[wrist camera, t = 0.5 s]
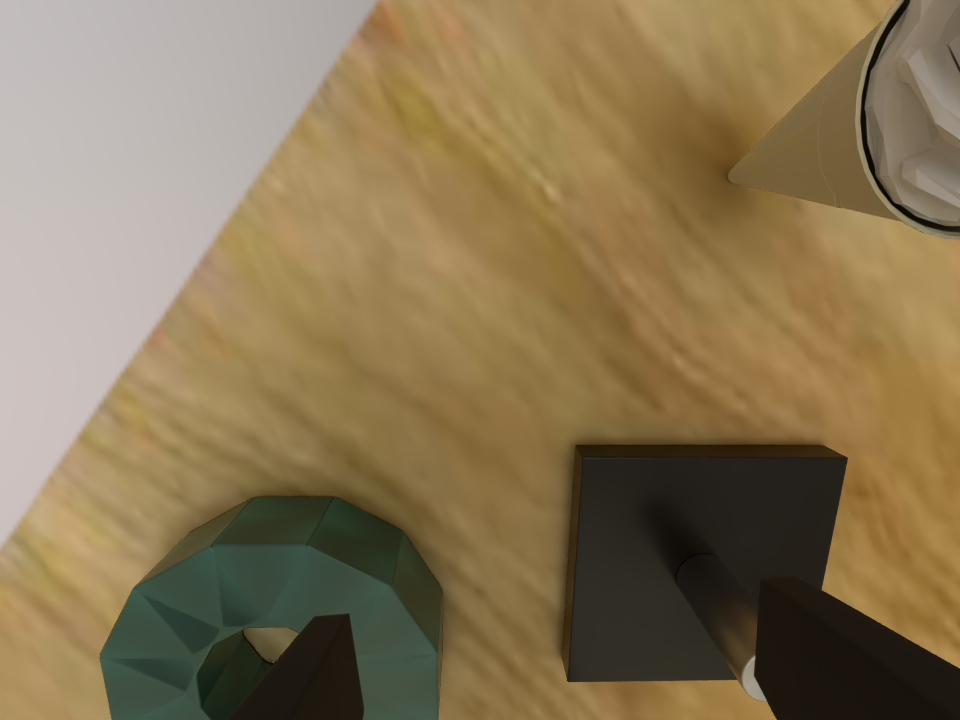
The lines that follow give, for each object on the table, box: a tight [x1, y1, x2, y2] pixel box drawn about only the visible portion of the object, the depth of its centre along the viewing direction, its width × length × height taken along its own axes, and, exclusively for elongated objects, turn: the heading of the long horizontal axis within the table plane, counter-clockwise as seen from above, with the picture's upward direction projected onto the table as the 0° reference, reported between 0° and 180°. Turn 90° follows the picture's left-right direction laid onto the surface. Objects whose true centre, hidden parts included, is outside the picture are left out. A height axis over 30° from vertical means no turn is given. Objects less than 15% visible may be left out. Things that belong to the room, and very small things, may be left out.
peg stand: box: [562, 445, 848, 702], centre depth 16 cm, size 10×10×6 cm
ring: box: [100, 497, 443, 720], centre depth 18 cm, size 12×12×3 cm
